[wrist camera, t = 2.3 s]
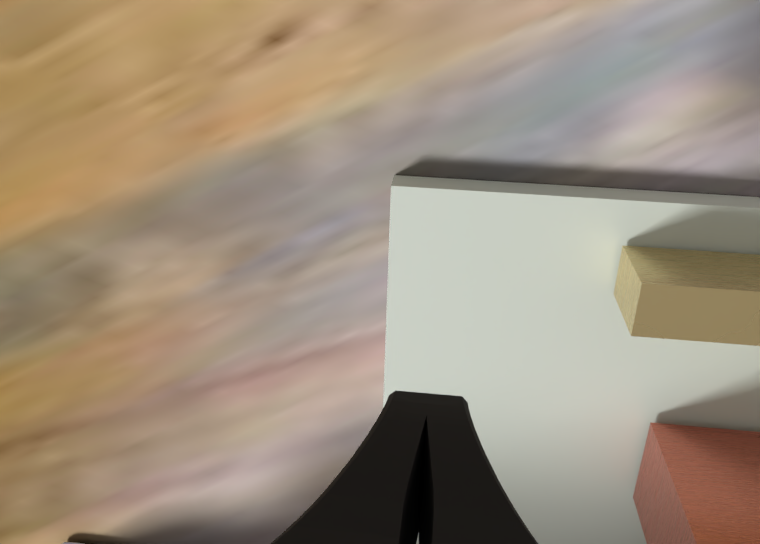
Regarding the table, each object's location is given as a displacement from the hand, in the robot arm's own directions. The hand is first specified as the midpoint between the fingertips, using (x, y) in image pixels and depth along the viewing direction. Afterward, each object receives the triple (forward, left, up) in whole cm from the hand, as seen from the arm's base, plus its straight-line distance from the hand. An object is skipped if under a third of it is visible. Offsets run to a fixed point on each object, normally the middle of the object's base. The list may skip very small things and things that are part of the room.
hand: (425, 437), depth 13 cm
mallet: (+9, -13, -8) cm, 18 cm away
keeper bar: (+9, 0, -8) cm, 12 cm away
